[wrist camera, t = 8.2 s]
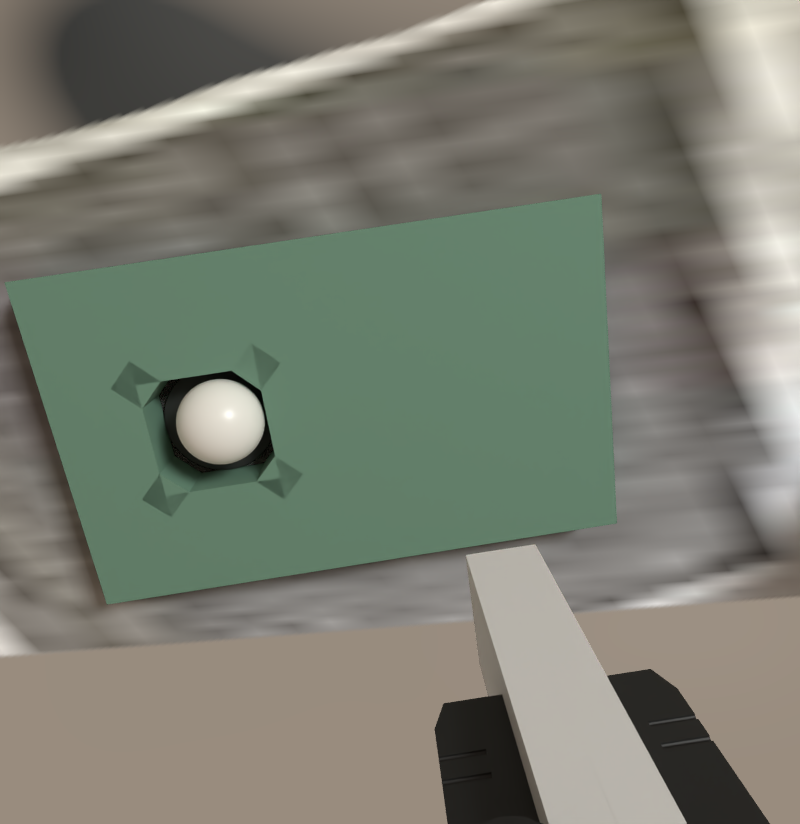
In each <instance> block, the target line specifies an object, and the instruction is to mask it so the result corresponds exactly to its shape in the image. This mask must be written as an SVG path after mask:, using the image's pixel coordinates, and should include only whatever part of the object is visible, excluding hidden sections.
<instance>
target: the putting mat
mask: <svg viewBox="0 0 800 824" xmlns="http://www.w3.org/2000/svg"><path fill="white" fill-rule="evenodd" d="M5 285H6V289H7V292H8V295H9V298H10V301H11V304H12V307H13V311H14V314H15V317H16V320H17V323H18V326H19V329H20V333H21V336H22V339H23V342H24V345H25V348H26V351H27V355H28V358H29V361H30V364H31V367H32V370H33V373H34V377H35V380H36V383H37V386H38V389H39V392H40V395H41V399H42V402H43V405H44V408H45V411H46V414H47V417H48V421H49V424H50V427H51V430H52V433H53V436H54V439H55V443H56V446H57V449H58V452H59V455H60V458H61V461H62V465H63V468H64V471H65V474H66V477H67V480H68V483H69V487H70V490H71V493H72V496H73V499H74V502H75V505H76V509H77V512H78V515H79V518H80V521H81V524H82V527H83V531H84V534H85V537H86V540H87V543H88V546H89V549H90V553H91V556H92V559H93V562H94V565H95V568H96V571H97V575H98V578H99V581H100V584H101V587H102V590H103V593H104V597H105V600H106V603H107V605H108V604H114V603H120V602H126V601H133V600H139V599H145V598H151V597H158V596H164V595H170V594H177V593H183V592H189V591H195V590H202V589H208V588H214V587H220V586H227V585H233V584H239V583H246V582H252V581H258V580H264V579H271V578H277V577H283V576H289V575H296V574H302V573H308V572H315V571H321V570H327V569H333V568H340V567H346V566H352V565H358V564H365V563H371V562H377V561H384V560H390V559H396V558H402V557H409V556H415V555H421V554H427V553H434V552H440V551H446V550H453V549H459V548H465V547H471V546H478V545H484V544H490V543H496V542H503V541H509V540H515V539H522V538H528V537H534V536H540V535H547V534H553V533H559V532H565V531H572V530H578V529H584V528H591V527H597V526H603V525H609V524H616V523H617V516H616V495H615V474H614V453H613V432H612V411H611V390H610V369H609V348H608V326H607V305H606V284H605V263H604V242H603V221H602V200H601V194H597V195H590V196H583V197H576V198H570V199H563V200H556V201H550V202H543V203H536V204H529V205H523V206H516V207H509V208H502V209H496V210H489V211H482V212H476V213H469V214H462V215H455V216H449V217H442V218H435V219H429V220H422V221H415V222H408V223H402V224H395V225H388V226H381V227H375V228H368V229H361V230H355V231H348V232H341V233H334V234H328V235H321V236H314V237H307V238H301V239H294V240H287V241H281V242H274V243H267V244H260V245H254V246H247V247H240V248H233V249H227V250H220V251H213V252H207V253H200V254H193V255H186V256H180V257H173V258H166V259H160V260H153V261H146V262H139V263H133V264H126V265H119V266H112V267H106V268H99V269H92V270H86V271H79V272H72V273H65V274H59V275H52V276H45V277H38V278H32V279H25V280H18V281H12V282H5ZM180 378H182V379H181V380H180V381H178V382H177V383H176V385H175V386H174V387H173V389H172V390H171V392H170V394H169V396H168V399H167V401H166V405H165V413H163V409H162V406H161V402H160V398H159V394H160V393H161V391H162V390H163V388H164V387H165V385H166V384H167V382H168V381H169V380H174V379H180ZM214 379H228V380H232V381H236V382H238V383H241V384H243V385H245V386H246V387H247V388H249V389H250V390H251V391H252V392H253V393H254V394H255V395H256V396H257V398H258V399H259V401H260V403H261V405H262V407H263V411H264V416H265V428H264V432H263V436H262V438H261V440H260V442H259V444H258V445H257V447H256V448H255V449H254V450H253V451H252V452H251V453H250V454H249V455H248V456H246V457H245V458H243V459H241V460H239V461H237V462H233V463H229V464H211V463H207V462H204V461H202V460H199V459H198V458H196V457H194V456H193V455H192V454H191V453H189V452H188V450H187V449H186V448H185V447H184V445H183V444H182V443H181V441H180V439H179V436H178V433H177V428H176V415H177V411H178V408H179V405H180V403H181V401H182V400H183V398H184V397H185V395H186V394H187V393H188V392H189V391H190V390H191V389H193V388H194V387H195V386H197V385H199V384H201V383H203V382H205V381H209V380H214ZM164 415H165V417H164ZM170 439H171V440H170ZM271 439H272V444H273V449H274V450H273V451H272V453H271V454H270V456H269V457H268V458H267V460H266V461H265V462H264V463H261V464H255V465H249V466H244V465H247V464H248V463H250V462H252V461H253V460H255V459H256V458H257V457H259V456H260V455H261V454H262V453H263V451H264V450H265V449H266V447H267V446H268V444H269V442H270V440H271ZM171 441H172V442H173V444H174V445H175V447H176V448H177V449H178V450H179V451H180V452H181V453H182V454H183V455H184V456H185V457H186V458H188V459H189V460H191V461H192V462H194V463H196V464H198V465H201V466H203V467H207V468H210V469H217V470H216V471H210V472H204V473H201V472H200V471H198V470H197V469H195V468H193V467H192V466H190V465H189V464H187V463H185V462H184V461H182V460H181V459H179V458H177V457H176V456H175V455H174V451H173V448H172V444H171Z"/></svg>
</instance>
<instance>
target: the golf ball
mask: <svg viewBox="0 0 800 824" xmlns="http://www.w3.org/2000/svg"><path fill="white" fill-rule="evenodd" d="M176 428H177V433H178V436H179V439H180V441H181V443H182V444H183V445H184V447H185V448H186V449H187V450H188V452H189V453H191V454H192V455H193V456H194V457H196V458H198V459H199V460H202V461H204V462H207V463H211V464H229V463H233V462H237V461H239V460H241V459H243V458H245V457H246V456H248V455H249V454H250V453H251V452H252V451H253V450H254V449H255V448H256V447H257V445H258V444H259V442H260V440H261V438H262V436H263V432H264V428H265V416H264V411H263V407H262V405H261V403H260V401H259V399H258V398H257V396H256V395H255V394H254V393H253V392H252V391H251V390H250V389H249V388H247V387H246V386H245V385H243V384H241V383H238V382H236V381H232V380H228V379H214V380H209V381H205V382H203V383H201V384H199V385H197V386H195V387H194V388H193V389H191V390H190V391H189V392H188V393H187V394H186V395H185V397H184V398H183V400H182V401H181V403H180V405H179V408H178V411H177V415H176Z"/></svg>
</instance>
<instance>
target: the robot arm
mask: <svg viewBox="0 0 800 824" xmlns="http://www.w3.org/2000/svg"><path fill="white" fill-rule="evenodd" d="M466 561H467V569H468V577H469V584H470V592H471V600H472V608H473V616H474V624H475V632H476V640H477V647H478V655H479V663H480V666H481V671H482V674H483V678H484V682H485V686H486V690H487V693H488V697H482V698H476V699H469V700H463V701H456V702H451V703H444V704H443V707H442V710H441V713H440V715H439V718H438V721H437V724H436V727H435V734H436V742H437V749H438V756H439V764H440V771H441V778H442V784H443V793H444V799H445V807H446V815H447V822H448V824H770V823H769V822H768V820H767V819H766V817H765V816H764V815H763V813H762V812H761V810H760V809H759V807H758V806H757V804H756V803H755V801H754V800H753V798H752V797H751V796H750V795H749V793H748V791H747V790H746V788H745V787H744V785H743V784H742V782H741V781H740V780H739V778H738V777H737V775H736V774H735V772H734V771H733V769H732V768H731V766H730V765H729V763H728V762H727V761H726V759H725V758H724V756H723V755H722V753H721V752H720V750H719V749H718V747H717V746H716V744H715V743H714V742H713V741H711V740H710V737H709V734H708V733H707V731H706V730H705V728H704V727H703V725H702V724H701V723H700V721H699V720H698V719H696V717H695V714H694V712H693V711H692V709H691V708H690V707H689V705H688V704H687V702H686V701H685V699H684V698H683V696H682V695H681V694H680V692H679V690H678V689H677V688H676V687H674V686H673V685H672V684H670V683H669V682H668V681H666V680H665V679H663V678H662V677H661V676H659V675H658V674H657V673H655V672H654V671H652V670H651V669H648V670H641V671H635V672H629V673H622V674H615V675H609V676H607V675H606V674H605V672H604V670H603V668H602V666H601V664H600V663H599V661H598V659H597V657H596V655H595V653H594V652H593V650H592V648H591V646H590V644H589V642H588V641H587V639H586V637H585V635H584V633H583V632H582V629H581V628H580V626H579V624H578V622H577V621H576V619H575V617H574V615H573V613H572V611H571V609H570V607H569V606H568V604H567V602H566V600H565V598H564V596H563V595H562V593H561V591H560V589H559V587H558V585H557V583H556V582H555V580H554V578H553V576H552V574H551V572H550V571H549V569H548V567H547V565H546V563H545V561H544V560H543V558H542V556H541V554H540V552H539V550H538V549H537V547H536V545H535V544H534V545H528V546H521V547H515V548H508V549H502V550H495V551H489V552H482V553H476V554H469V555H466Z"/></svg>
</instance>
